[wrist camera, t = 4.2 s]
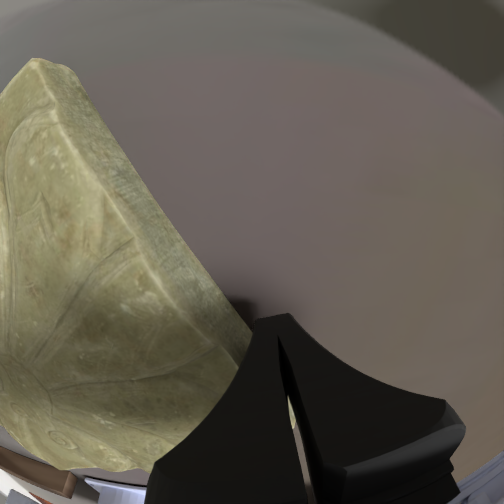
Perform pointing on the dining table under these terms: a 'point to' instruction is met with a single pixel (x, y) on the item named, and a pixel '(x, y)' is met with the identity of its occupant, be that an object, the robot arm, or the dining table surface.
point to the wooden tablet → (40, 499)
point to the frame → (38, 473)
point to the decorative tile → (97, 292)
